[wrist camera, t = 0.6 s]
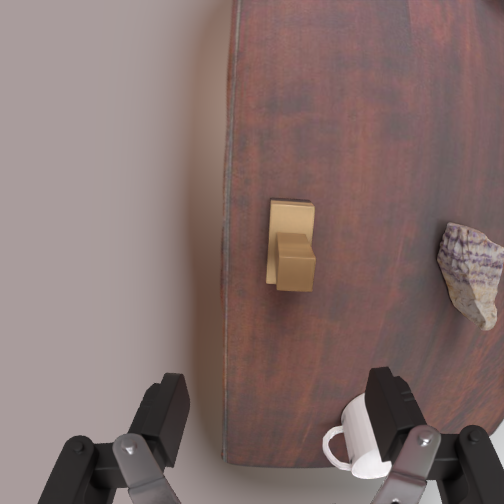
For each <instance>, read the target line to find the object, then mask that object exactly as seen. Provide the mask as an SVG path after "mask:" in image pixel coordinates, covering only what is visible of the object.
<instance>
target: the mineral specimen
mask: <svg viewBox="0 0 504 504" xmlns="http://www.w3.org/2000/svg"><path fill="white" fill-rule="evenodd" d="M437 261H438V263H439V266H440V268H441V270H442V274H443V276H444V279H445V280H446V284H447V286H448V289H449V295H450V298H451V300H452V303H453V305H454V307H455V308H457V309H458V311H460V312H461V313H462V314H463V315H464V316H465V317H466V318H468V319H469V320H470V321H472V322H474V323H475V325H477V326H478V327H480V329H482V330H490V329H492V328H493V327H494V325H495V323H496V321H497V316H496V314H497V309H496V308H495V304H494V300H495V296H496V294H497V286H498V283H499V280H500V275H501V272H502V268H503V261H504V247H500V245H497V244H495V243H493V242H491V241H490V240H489V239H488V238H487V237H486V235H485V234H484V233H482V232H480V231H478V230H476V229H473V228H470V227H467V226H463V225H458V224H455V223H448V224H447V228H446V230H445V233H444V234H443V239H442V242H440V250H439V253H438V256H437Z"/></svg>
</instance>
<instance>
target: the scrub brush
mask: <svg viewBox="0 0 504 504" xmlns="http://www.w3.org/2000/svg"><path fill="white" fill-rule="evenodd" d="M314 214H315V207H314V205H313V204H312V203H311V202H310V200H300V199H285V198H271V199H270V217H269V234H268V250H267V266H266V283H267V284H276V290H282V291H303V292H312V287H313V279H314V272H315V263H316V258H315V255H314V253H313V251H312V248H311V245H312V235H313V225H314Z"/></svg>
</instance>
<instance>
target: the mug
mask: <svg viewBox="0 0 504 504" xmlns="http://www.w3.org/2000/svg"><path fill="white" fill-rule="evenodd" d="M364 395H365V393H363V394H361V395H359V396H358V397H356V398H355V399H353V400H352V401H351V402H350V403H349V404H348V405H347V406H346V407H345V409H344V411H343V413H342V416H341V422H342V426H338V427H333V428H332V429H331V430H329V431H328V432H327V434H326V435H325V436H324V437H323V452H324V454H325V455H326V457H327V458H328V460H329V461H330V462H331V463H332V464H333V465H335V466H336V467H338V468H339V469H341V470H348V471H352V474H353V475H354V476H356V477H358V478H364V479H372V478H379V477H383V476H387V474H388V473H389V471H390V469H391V467H392V465H391V461H387V462H382V461H381V457H380V454H379V450H378V447H377V443H376V440H375V436H374V433H373V430H372V426H371V423H370V420H369V416H368V413H367V410H366V407H365V401H364ZM343 432H344V436H345V441H346V446H347V451H348V456H349V461H350V464H347V463H343V462H339V461H338V460H337V459H336V458H335V457H334V456H333V455H332V453H331V451H330V449H329V447H328V442H329V440H330V439H332V437H333V436H334V435H335V434H338V433H343Z"/></svg>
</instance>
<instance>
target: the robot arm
mask: <svg viewBox="0 0 504 504" xmlns="http://www.w3.org/2000/svg"><path fill="white" fill-rule="evenodd" d="M364 401H365V407H366V410H367V413H368V416H369V420H370V423H371V426H372V430H373V433H374V436H375V440H376V443H377V447H378V450H379V454H380V457H381V461H382V462H387V461H391V465H392V467H391V469H390V471H389V473H388V474H387V476H386V478H385V480H384V482H383V483H382V485H381V487H380V489H379V490H378V492H377V494H376V496H375V497H374V499H373V500H372V502H371V503H370V504H418V503H419V501H420V499H421V497H422V495H423V492H424V490H425V488H426V485H427V481H426V480H436V482H437V486H438V489H439V492H440V496H441V500H442V504H504V469H503V467H502V464H501V462H500V460H499V458H498V455H497V453H496V451H495V449H494V447H493V445H492V443H491V440H490V438H489V436H488V434H487V432H486V431H485V430H484V429H483V428H482V427H480V426H477V425H469V426H466V427H465V428H463V429H462V430H461V432H460V434H441V433H439V431H438V430H437V429H436V428H434V427H432V426H430V425H427V423H426V421H425V419H424V417H423V415H422V413H421V410H420V408H419V406H418V404H417V402H416V400H415V398H414V396H413V394H412V393H411V390H410V388H409V386H408V384H407V382H405V381H404V380H403V379H402V378H401V377H400V376H397V377H393V375H392V373H391V371H390V369H389V367H380V368H372V369H371V370H370V373H369V377H368V382H367V386H366V390H365V395H364ZM189 409H190V398H189V394H188V390H187V386H186V383H185V378H184V375H183V374H176V373H165V374H164V377H163V379H162V381H161V384H159V383H154V384H153V385H152V386H151V387H150V388H149V389H148V390H147V391H146V393H145V395H144V397H143V401H141V404H140V408H138V411H137V413H136V415H135V417H134V420H133V422H132V424H131V427H130V429H129V431H128V433H127V434H123V435H121V436H119V437H118V438H117V439H116V440H115V441H114V442H113V443H101V444H94V443H93V442H92V441H91V440H90V439H89V438H88V437H86V436H81V435H79V436H74V437H72V438H70V439H69V440H68V441H67V442H66V443H65V445H64V447H63V449H62V451H61V453H60V455H59V457H58V459H57V461H56V464H55V466H54V468H53V470H52V472H51V474H50V477H49V479H48V481H47V483H46V486H45V488H44V490H43V492H42V495H41V497H40V499H39V502H38V504H112V503H113V499H114V496H115V492H116V489H117V488H127V487H128V488H129V489H128V493H129V495H130V498H131V500H132V502H133V504H181V502H180V501H179V499H178V497H177V496H176V494H175V493H174V491H173V489H172V488H171V486H170V484H169V483H168V481H167V479H166V478H165V476H164V475H163V473H164V469H165V467H172V468H173V467H174V464H175V461H176V457H177V453H178V449H179V446H180V442H181V439H182V435H183V431H184V428H185V424H186V421H187V417H188V413H189Z"/></svg>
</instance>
